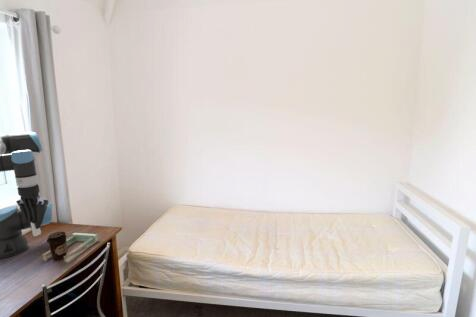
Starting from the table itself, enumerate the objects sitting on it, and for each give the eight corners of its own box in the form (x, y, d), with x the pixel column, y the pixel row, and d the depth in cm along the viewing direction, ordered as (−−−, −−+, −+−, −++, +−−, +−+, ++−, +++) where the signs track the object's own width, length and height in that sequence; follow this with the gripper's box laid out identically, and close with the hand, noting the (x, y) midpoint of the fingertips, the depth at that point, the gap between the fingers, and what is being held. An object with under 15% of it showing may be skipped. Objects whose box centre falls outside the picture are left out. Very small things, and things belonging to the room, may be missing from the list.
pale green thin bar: (42, 260, 136) (41, 255, 135) (72, 240, 155) (72, 236, 155) (46, 260, 136) (45, 255, 135) (75, 241, 155) (75, 236, 154)
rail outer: (64, 262, 134) (63, 256, 133) (92, 242, 153) (91, 237, 153) (68, 262, 134) (67, 257, 133) (95, 242, 153) (94, 237, 152)
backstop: (72, 240, 155) (71, 234, 155) (75, 239, 157) (74, 232, 157) (95, 242, 153) (94, 235, 152) (97, 240, 155) (97, 234, 154)
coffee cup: (74, 254, 141) (70, 230, 139) (62, 263, 133) (58, 238, 131) (58, 253, 142) (54, 230, 140) (46, 262, 134) (41, 238, 132)
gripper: (7, 187, 117) (17, 237, 122) (32, 188, 115) (42, 239, 120) (23, 182, 125) (32, 230, 129) (47, 183, 122) (56, 231, 127)
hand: (37, 234), depth 124 cm, fingers closed
